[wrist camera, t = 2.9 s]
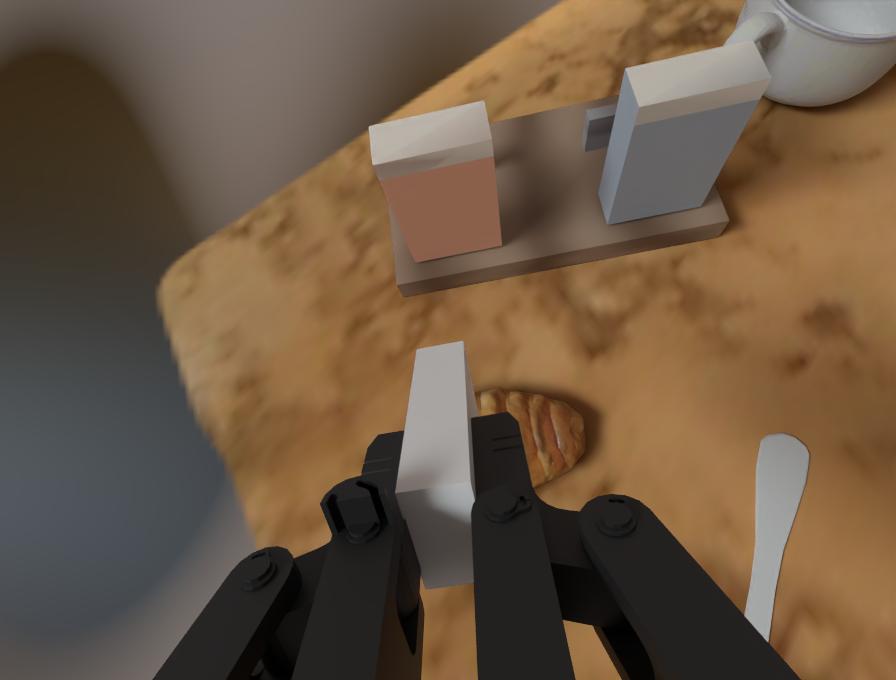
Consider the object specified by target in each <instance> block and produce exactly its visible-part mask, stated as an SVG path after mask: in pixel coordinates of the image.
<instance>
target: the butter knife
mask: <svg viewBox="0 0 896 680" xmlns="http://www.w3.org/2000/svg"><path fill="white" fill-rule="evenodd" d="M809 458H810V454H809V452H808V450H807V448H806V446H805V445H804V444H803V443H801V442H800V441H799V440H798V439H796V438H795V437H794V436H791V435H788V434H784V433H775V434H769V435H767V436H766V437H765V438H763V439H762V440H761V444H760V449H759V454H758V460H757V465H756V543H755V551H754V560H753V568H752V576H751V583H750V589H749V594H748V599H747V605H746V610H745V617H746V618H747V619H748V620H749V622H750V623H751V624H752V625H753V626H754V627H755V628H756V629H757V631H758V632H759V633H760V634H761V635H762V636H763V637H764V638H765V640H766V641H767V642H768V641H769V634H770V626H771V619H772V612H773V604H774V597H775V590H776V585H777V580H778V575H779V570H780V565H781V560H782V555H783V550H784V547H785V544H786V541H787V538H788V535H789V532H790V529H791V527H792V524H793V521H794V518H795V515H796V512H797V509H798V506H799V503H800V500H801V497H802V494H803V491H804V488H805V485H806V481H807V473H808V466H809Z"/></svg>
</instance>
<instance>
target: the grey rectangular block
mask: <svg viewBox="0 0 896 680" xmlns="http://www.w3.org/2000/svg"><path fill="white" fill-rule="evenodd" d="M771 79H772V77H771V75H770V73H769V71H768V69H767V67H766V65H765V63H764V61H763V59H762V57H761V55H760V53H759V51H758V49H757V47H756V45H755V43H754V41H753V40H749V41H745V42H740V43H736V44H731V45H727V46H723V47H718V48H714V49H709V50H705V51H700V52H696V53H692V54H687V55H683V56H678V57H674V58H669V59H665V60H661V61H656V62H652V63H647V64H643V65H638V66H634V67H630V68H625V72H624V77H623V81H622V86H621V91H620V95H619V100H618V104H617V109H616V114H615V118H614V123H613V128H612V132H611V137H610V141H609V146H608V151H607V155H606V160H605V165H604V169H603V174H602V179H601V183H600V188H599V192H598V195H599V198H600V202H601V205H602V209H603V212H604V215H605V219H606V222H607V225H610V224H615V223H620V222H625V221H630V220H635V219H640V218H645V217H650V216H655V215H660V214H665V213H671V212H676V211H681V210H686V209H691V208H696V207H701V205H702V204H703V202H704V200H705V198H706V196H707V195H708V193H709V191H710V189H711V187H712V186H713V184H714V182H715V180H716V178H717V177H718V175H719V173H720V171H721V169H722V168H723V166H724V164H725V162H726V160H727V159H728V157H729V155H730V153H731V151H732V149H733V148H734V146H735V144H736V142H737V140H738V139H739V137H740V135H741V133H742V131H743V130H744V128H745V126H746V124H747V122H748V121H749V119H750V117H751V115H752V113H753V112H754V110H755V108H756V106H757V104H758V103H759V101H760V99H761V97H762V95H763V93H764V92H765V90H766V88H767V86H768V84H769V83H770V81H771Z"/></svg>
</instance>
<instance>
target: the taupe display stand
mask: <svg viewBox="0 0 896 680" xmlns="http://www.w3.org/2000/svg"><path fill="white" fill-rule="evenodd" d="M618 100H619V95H616V96H611V97H607V98H602V99H598V100H593V101H589V102H584V103H580V104H575V105H571V106H566V107H562V108H557V109H552V110H548V111H543V112H539V113H534V114H530V115H525V116H521V117H516V118H512V119H507V120H503V121H498V122H494V123H489V127H490V131H491V136H492V143H493V153H494V164H495V175H496V185H497V196H498V207H499V217H500V228H501V239H502V246H498V247H493V248H488V249H483V250H478V251H473V252H468V253H462V254H457V255H452V256H447V257H442V258H437V259H432V260H427V261H422V262H417V263H415V261H414V259H413V256H412V254H411V252H410V250H409V247H408V245H407V243H406V240H405V238H404V236H403V234H402V231H401V229H400V227H399V224H398V222H397V220H396V218H395V215H394V213H393V211H392V209H391V206H390V204H389V202H388V207H389V217H390V226H391V235H392V245H393V254H394V263H395V272H396V282H397V286H398V288H399V290H400V291H401V293H402V295H403V297H408V296H413V295H418V294H423V293H429V292H434V291H439V290H444V289H450V288H455V287H460V286H465V285H471V284H476V283H481V282H486V281H492V280H497V279H502V278H507V277H513V276H518V275H523V274H528V273H533V272H539V271H544V270H549V269H554V268H560V267H565V266H570V265H575V264H581V263H586V262H591V261H596V260H602V259H607V258H612V257H617V256H623V255H628V254H633V253H638V252H644V251H649V250H654V249H659V248H665V247H670V246H675V245H680V244H686V243H691V242H696V241H701V240H707V239H712V238H717V237H719V236H720V234H721V233H722V231H723V230H724V228H725V227H726V225H727V224H728V222H729V221H730V220H729V218H728V215H727V213H726V210H725V208H724V205H723V203H722V200H721V198H720V195H719V193H718V191H717V188H716V186H715V183H714V184H713V186H712V187H711V189H710V191H709V193H708V195H707V196H706V198H705V200H704V202H703V204H702V205H701V207H696V208H691V209H686V210H681V211H676V212H671V213H665V214H660V215H655V216H650V217H645V218H640V219H635V220H630V221H625V222H620V223H615V224H610V225H607V222H606V219H605V215H604V212H603V209H602V205H601V202H600V198H599V195H598V192H599V188H600V183H601V179H602V174H603V169H604V165H605V160H606V155H607V151H608V146H609V141H610V137H611V132H612V128H613V123H614V118H615V114H616V109H617V104H618Z"/></svg>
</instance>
